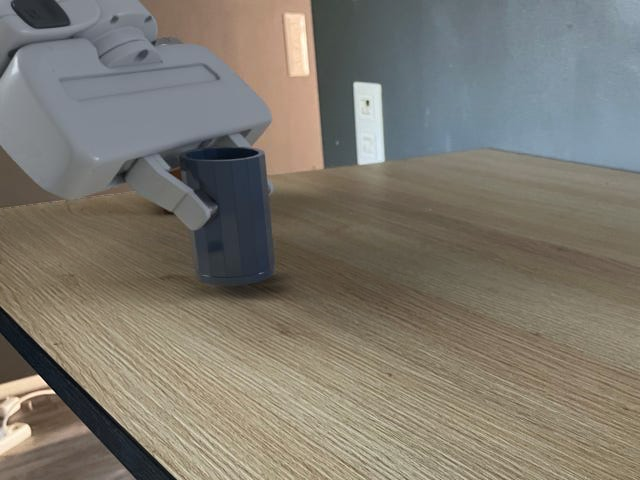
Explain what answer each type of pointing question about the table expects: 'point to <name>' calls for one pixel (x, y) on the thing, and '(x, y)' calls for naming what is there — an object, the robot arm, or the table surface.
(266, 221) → the cup
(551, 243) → the table surface
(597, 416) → the table surface
